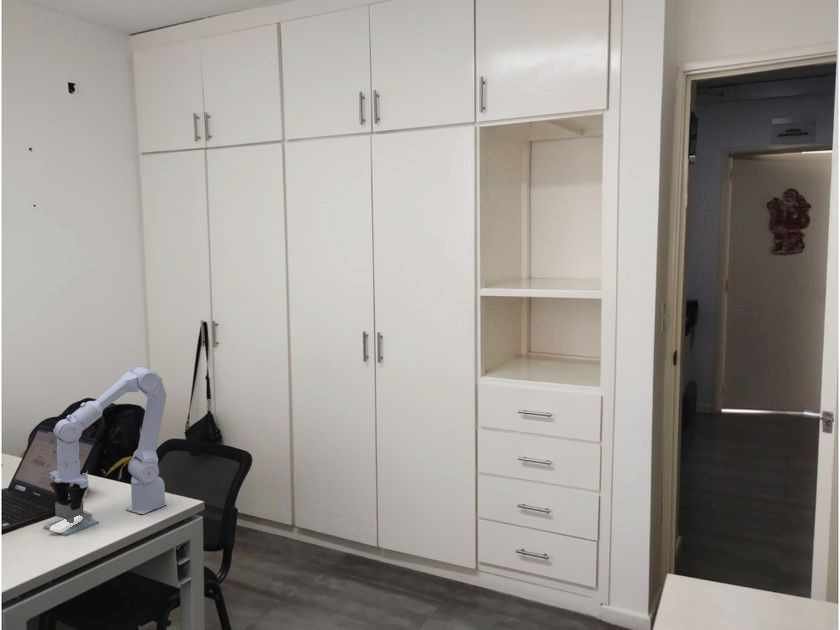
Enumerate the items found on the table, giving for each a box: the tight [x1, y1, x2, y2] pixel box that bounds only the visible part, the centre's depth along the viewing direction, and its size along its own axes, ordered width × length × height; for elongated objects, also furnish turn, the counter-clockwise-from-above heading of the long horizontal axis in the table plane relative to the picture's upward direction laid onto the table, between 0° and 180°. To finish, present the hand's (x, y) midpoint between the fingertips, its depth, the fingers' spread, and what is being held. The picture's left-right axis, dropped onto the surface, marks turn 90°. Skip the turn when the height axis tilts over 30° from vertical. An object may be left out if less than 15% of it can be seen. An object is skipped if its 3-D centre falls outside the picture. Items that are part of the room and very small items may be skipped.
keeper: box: [43, 509, 100, 537], centre depth 203 cm, size 10×10×4 cm
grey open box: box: [54, 498, 85, 520], centre depth 202 cm, size 5×5×4 cm
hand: (69, 506), depth 202 cm, fingers closed on grey open box, 5 cm apart
